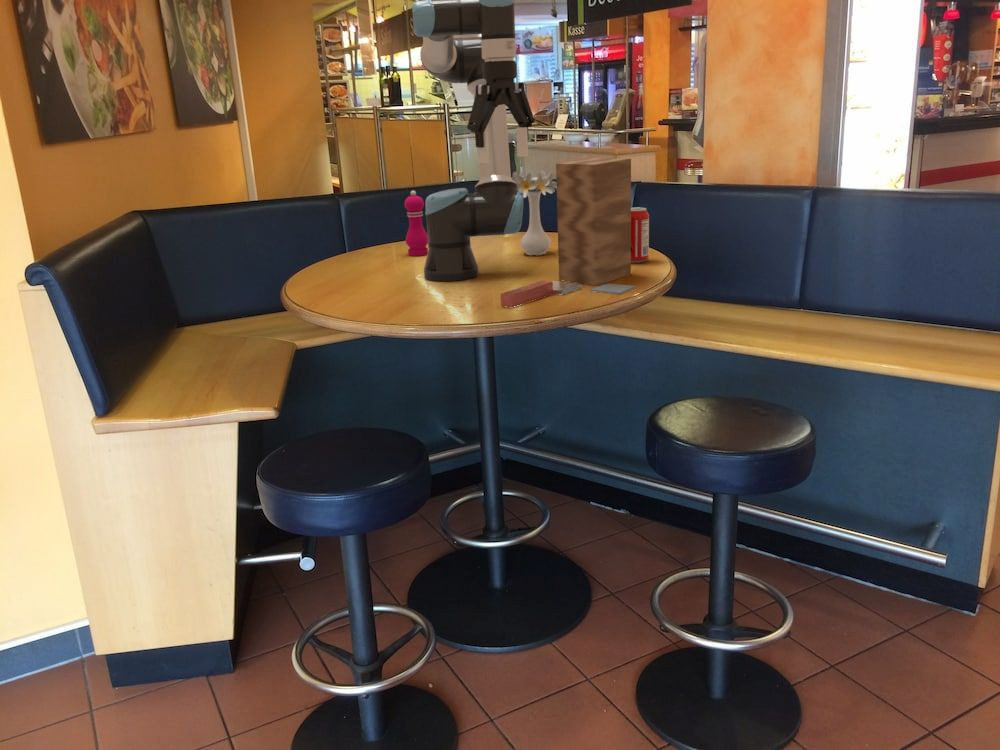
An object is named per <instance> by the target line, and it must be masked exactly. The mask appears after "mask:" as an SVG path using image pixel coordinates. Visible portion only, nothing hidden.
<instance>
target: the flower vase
mask: <svg viewBox="0 0 1000 750" xmlns="http://www.w3.org/2000/svg"><path fill="white" fill-rule="evenodd" d="M536 174H537V175H536V176H537V177H536V176H535V175H534V173H533V172H532V171H531V170H528V171H527V174H526V176H525V178H524V177H523V175H524V172H523V171H522V172H520V173H519V175H518V173H517V171H513V173H512V174H511V178H512V180H514V181H515V182H516V183H517V190H522V191H523V199H525V198H527V197H528V203H529V204H528V205H529V222H528V223H529V224H528V228H527V231H526V233H525V234H524V235H523V236H522V238H521V239H520V240H521V241H520V247H521V248H522V249H523V250H524V251H525V254H526V255H528V256H532V255H536V256H543V254H544V255H546V254H547V250H548V249H549V248H550V247H551V244H552V242H551V238H550V236H549V235H548V234H547V233H546V232H545V231H544V228H543V226H542V223H541V213H540V212H541V211H540V200H541V194H542V195H544V196H546V195H547V193H548V194H550V195H551V194H553V193H556V191H557V181H553V179H554V174H553V172H552V171H550V172H548V174H546V173H545V171H544V170H541V173H540V172H539V171H538V172H537V173H536Z"/></svg>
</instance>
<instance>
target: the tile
mask: <svg viewBox="0 0 1000 750" xmlns="http://www.w3.org/2000/svg"><path fill="white" fill-rule="evenodd" d="M635 288H636V286H635V285H626V284H620V283H619V284H618V283H608V282H606V283H603V284H600V285H598V286H596V287H594V288H591V289H590V292H592V291H596V292H595V293H600V292H602V293H601V294H609V293H610V295H617V296H618V295H623V294H624V292H625V293H627V292H629V291H631V290H634V289H635Z"/></svg>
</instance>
